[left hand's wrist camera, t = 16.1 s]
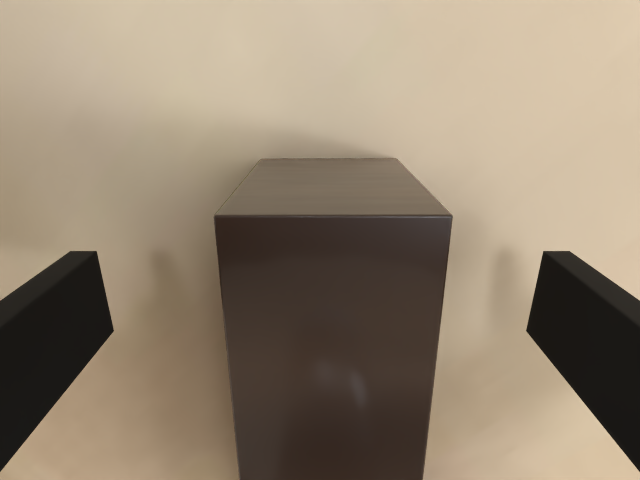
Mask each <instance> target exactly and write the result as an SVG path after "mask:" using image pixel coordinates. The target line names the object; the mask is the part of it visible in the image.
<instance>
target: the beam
mask: <svg viewBox="0 0 640 480" xmlns="http://www.w3.org/2000/svg"><path fill="white" fill-rule="evenodd" d="M452 218H453V216H452V214H451V213H450V212H449V211H448V210H447V209H446V208H445V207H444V206H443V205H442V204H441V203H440V202H439V201H438V200H437V199H436V198H435V197H434V196H433V195H432V194H431V193H430V192H429V191H428V190H427V189H426V188H425V187H424V186H423V185H422V184H421V183H420V182H419V181H418V180H417V179H416V178H415V177H414V176H413V175H412V174H411V173H410V172H409V171H408V170H407V169H406V168H405V167H404V166H403V165H402V164H401V163H400V161H399V160H398V159H261V160H260V161H259V162H258V163H257V164H256V166H255V167H254V168H253V169H252V170H251V172H250V173H249V174H248V175H247V177H246V178H245V179H244V180H243V181H242V183H241V184H240V185H239V186H238V187H237V189H236V190H235V191H234V192H233V193H232V195H231V196H230V197H229V198H228V199H227V201H226V202H225V203H224V204H223V206H222V207H221V208H220V209H219V210H218V212H217V213H216V214H215V215H214V225H215V235H216V245H217V255H218V265H219V276H220V286H221V296H222V306H223V316H224V327H225V337H226V347H227V357H228V367H229V378H230V388H231V398H232V408H233V418H234V429H235V439H236V449H237V459H238V470H239V480H423V473H424V464H425V455H426V446H427V438H428V429H429V420H430V411H431V403H432V394H433V385H434V376H435V367H436V359H437V350H438V341H439V332H440V324H441V315H442V306H443V297H444V288H445V280H446V271H447V262H448V253H449V244H450V236H451V227H452Z"/></svg>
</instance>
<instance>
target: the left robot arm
mask: <svg viewBox="0 0 640 480" xmlns="http://www.w3.org/2000/svg"><path fill="white" fill-rule="evenodd" d="M113 331H114V330H113V325H112V320H111V316H110V311H109V307H108V302H107V297H106V293H105V288H104V283H103V279H102V274H101V270H100V265H99V260H98V256H97V251H70V252H69V253H67V254H66V255H64V256H63V257H62V258H60V259H59V260H57V261H56V262H55V263H53V264H52V265H50V266H49V267H47V268H46V269H45V270H43V271H42V272H40V273H39V274H38V275H36V276H35V277H33V278H32V279H30V280H29V281H28V282H26V283H25V284H23V285H22V286H21V287H19V288H18V289H16V290H15V291H13V292H12V293H11V294H9V295H8V296H6V297H5V298H4V299H2V300H1V301H0V471H1V470H2V469H3V468H4V467H5V465H6V464H7V463H8V462H9V460H10V459H11V458H12V457H13V455H14V454H15V453H16V452H17V450H18V449H19V448H20V447H21V445H22V444H23V443H24V442H25V440H26V439H27V438H28V437H29V435H30V434H31V433H32V432H33V431H34V429H35V428H36V427H37V426H38V424H39V423H40V422H41V421H42V419H43V418H44V417H45V416H46V414H47V413H48V412H49V411H50V409H51V408H52V407H53V406H54V404H55V403H56V402H57V401H58V399H59V398H60V397H61V396H62V395H63V393H64V392H65V391H66V390H67V388H68V387H69V386H70V385H71V383H72V382H73V381H74V380H75V378H76V377H77V376H78V375H79V373H80V372H81V371H82V370H83V368H84V367H85V366H86V365H87V364H88V362H89V361H90V360H91V359H92V357H93V356H94V355H95V354H96V352H97V351H98V350H99V349H100V347H101V346H102V345H103V344H104V342H105V341H106V340H107V339H108V337H109V336H110V335H111V334H112V332H113ZM526 331H527V332H528V334H529V335H530V336H531V337H532V339H533V340H534V341H535V342H536V344H537V345H538V346H539V347H540V349H541V350H542V351H543V352H544V354H545V355H546V356H547V357H548V359H549V360H550V361H551V362H552V364H553V365H554V366H555V367H556V368H557V370H558V371H559V372H560V373H561V375H562V376H563V377H564V378H565V380H566V381H567V382H568V383H569V385H570V386H571V387H572V388H573V390H574V391H575V392H576V393H577V395H578V396H579V397H580V398H581V399H582V401H583V402H584V403H585V404H586V406H587V407H588V408H589V409H590V411H591V412H592V413H593V414H594V416H595V417H596V418H597V419H598V421H599V422H600V423H601V424H602V426H603V427H604V428H605V429H606V431H607V432H608V433H609V434H610V435H611V437H612V438H613V439H614V440H615V442H616V443H617V444H618V445H619V447H620V448H621V449H622V450H623V452H624V453H625V454H626V455H627V457H628V458H629V459H630V460H631V462H632V463H633V464H634V465H635V467H636V468H637V469H638V470H639V471H640V301H639V300H638V299H636V298H635V297H634V296H632V295H631V294H629V293H628V292H627V291H625V290H624V289H622V288H621V287H619V286H618V285H617V284H615V283H614V282H612V281H611V280H610V279H608V278H607V277H605V276H604V275H602V274H601V273H600V272H598V271H597V270H595V269H594V268H593V267H591V266H590V265H588V264H587V263H585V262H584V261H583V260H581V259H580V258H578V257H577V256H576V255H574V254H573V253H571V252H570V251H543V256H542V260H541V265H540V270H539V274H538V279H537V283H536V288H535V293H534V297H533V302H532V307H531V311H530V316H529V320H528V325H527V330H526Z"/></svg>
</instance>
